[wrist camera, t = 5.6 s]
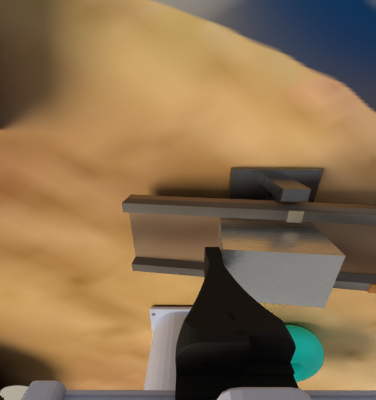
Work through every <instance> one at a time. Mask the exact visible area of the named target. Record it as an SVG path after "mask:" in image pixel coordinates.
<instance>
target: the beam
mask: <svg viewBox="0 0 376 400" xmlns="http://www.w3.org/2000/svg"><path fill="white" fill-rule="evenodd" d="M122 207H123V212H129V214H130V220H131V227H132V234H133V241H134V248H135V254H136V257H135V259H134V261H133V263H132V268H133V271H143V272H155V273H166V274H178V275H190V276H201V277H204V251H205V247H218V238H219V221H220V218H232V219H259V220H282V221H286V222H294V223H301V222H311V223H312V224H313V225H314V226H315V227H316V228H317V229H318V230H319V231H320V232H321V233H323V234H324V235H325V236H326V237H327V238H328V239H329V240H330V241H331V242H332V243H333V244H334V245H335V246H336V247H337V248H338V249H339V250H340V251H341V252H342V253H343V254H344V255H345V259H344V261H343V264H342V266H341V268H340V271H339V273H338V276H337V278H336V280H335V283H334V285H333V288H340V289H351V290H363V291H367V292H368V293H376V205H365V204H341V203H318V202H280V201H270V200H246V199H223V198H199V197H175V196H151V195H130V196H129V197H128V198H127V199H126V200H125V201H124V202H123V203H122Z"/></svg>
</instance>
